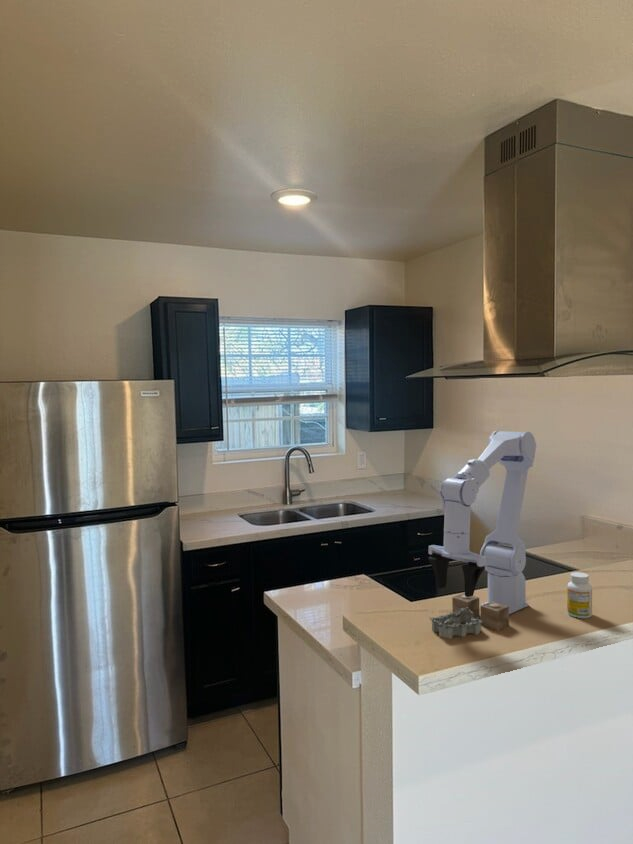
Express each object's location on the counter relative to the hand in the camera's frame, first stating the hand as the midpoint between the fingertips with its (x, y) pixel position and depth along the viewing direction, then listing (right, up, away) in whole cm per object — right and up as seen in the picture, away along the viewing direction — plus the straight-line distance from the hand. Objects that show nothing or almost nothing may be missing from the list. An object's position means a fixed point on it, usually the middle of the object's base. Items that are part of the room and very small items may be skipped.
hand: (455, 591), depth 133 cm
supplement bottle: (+32, -8, +8) cm, 34 cm away
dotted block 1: (+5, -9, +9) cm, 13 cm away
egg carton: (0, -9, 0) cm, 9 cm away
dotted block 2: (+10, -9, +3) cm, 14 cm away
